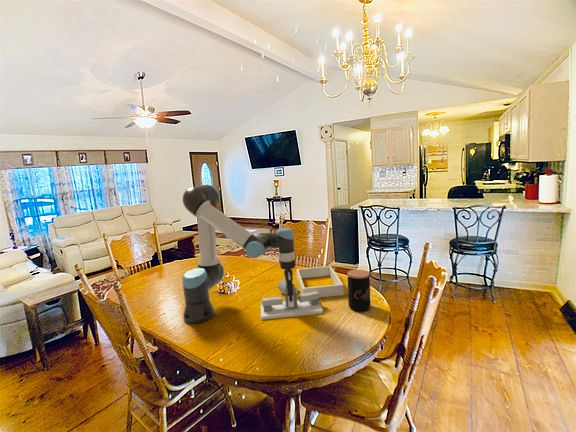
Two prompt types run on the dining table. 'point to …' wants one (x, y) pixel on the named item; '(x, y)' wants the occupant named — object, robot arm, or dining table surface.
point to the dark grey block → (293, 297)
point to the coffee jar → (359, 290)
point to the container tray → (322, 290)
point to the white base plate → (305, 306)
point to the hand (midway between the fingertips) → (290, 304)
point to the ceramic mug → (283, 286)
